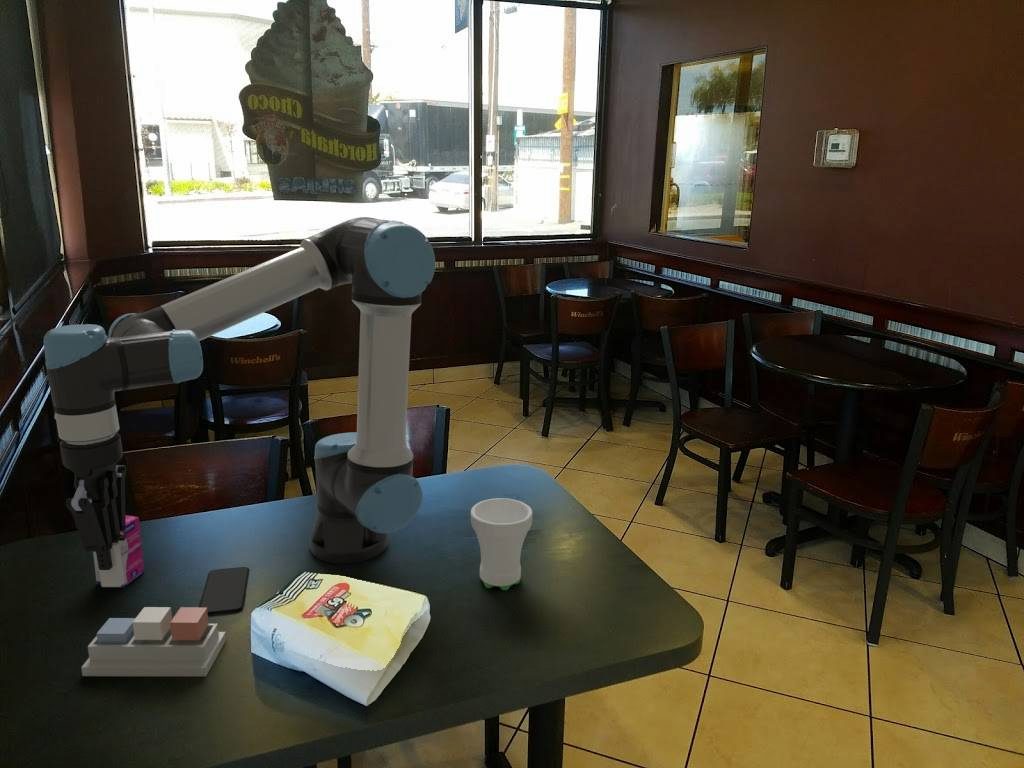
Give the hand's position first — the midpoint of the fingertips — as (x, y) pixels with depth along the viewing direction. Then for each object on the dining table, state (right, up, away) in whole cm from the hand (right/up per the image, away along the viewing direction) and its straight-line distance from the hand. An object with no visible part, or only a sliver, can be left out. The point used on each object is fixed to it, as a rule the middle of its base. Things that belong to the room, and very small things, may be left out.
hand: (113, 584), depth 113 cm
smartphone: (+8, -8, +22) cm, 25 cm away
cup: (+57, -7, +27) cm, 64 cm away
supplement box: (-12, -6, +25) cm, 28 cm away
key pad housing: (+5, -12, +3) cm, 14 cm away
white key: (+5, -8, +2) cm, 10 cm away
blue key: (-1, -10, +3) cm, 10 cm away
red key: (+11, -8, +2) cm, 13 cm away
